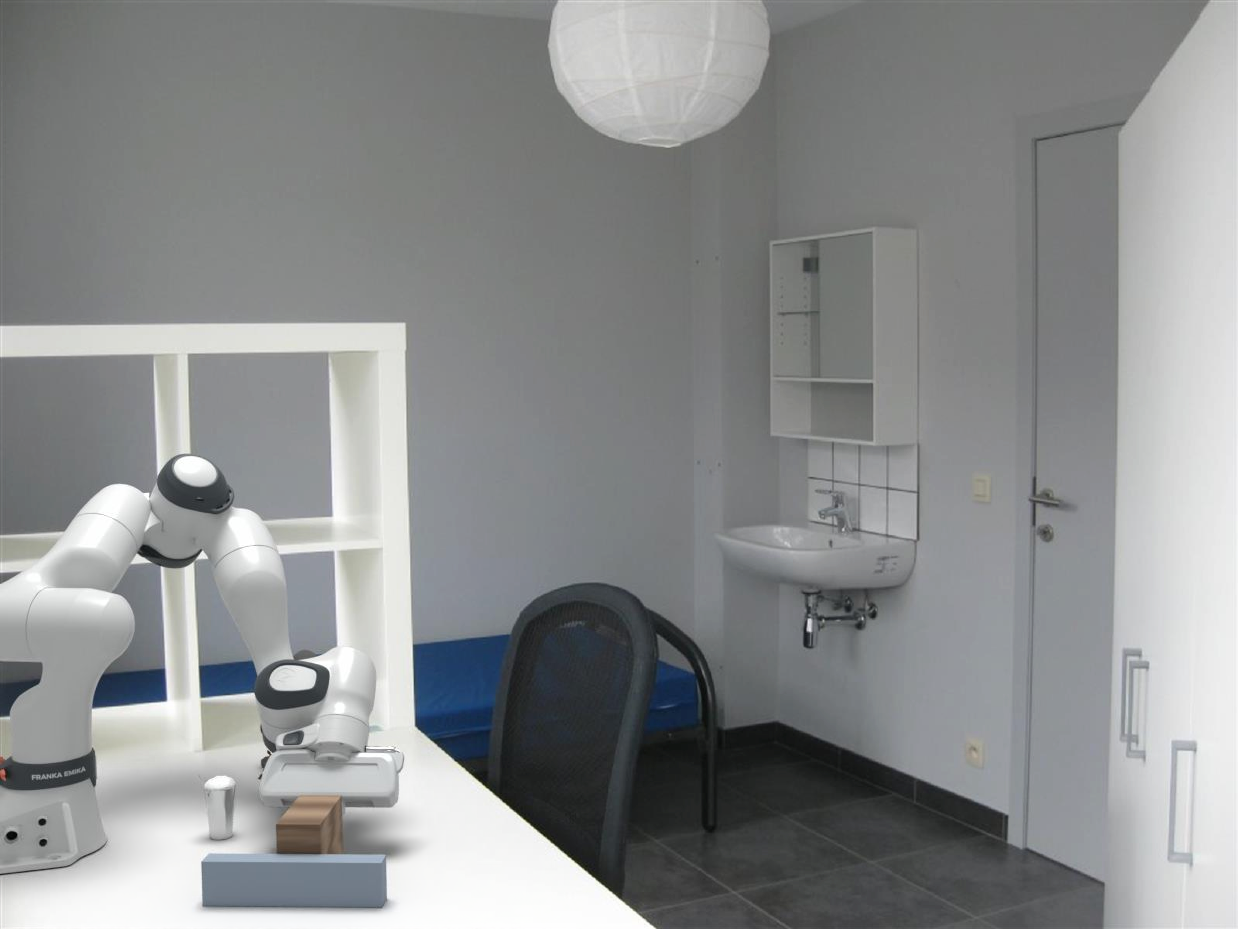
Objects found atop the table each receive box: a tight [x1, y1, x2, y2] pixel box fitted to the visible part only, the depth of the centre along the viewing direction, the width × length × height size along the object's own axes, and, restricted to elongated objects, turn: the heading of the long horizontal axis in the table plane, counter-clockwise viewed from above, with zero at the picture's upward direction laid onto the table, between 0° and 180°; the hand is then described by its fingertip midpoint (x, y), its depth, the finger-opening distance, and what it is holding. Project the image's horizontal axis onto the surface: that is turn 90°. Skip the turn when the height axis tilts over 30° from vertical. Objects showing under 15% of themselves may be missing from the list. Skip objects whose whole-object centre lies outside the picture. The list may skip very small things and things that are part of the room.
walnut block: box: [275, 795, 344, 854], centre depth 187 cm, size 12×6×10 cm, turn 178°
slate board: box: [200, 852, 388, 908], centre depth 179 cm, size 24×3×6 cm, turn 88°
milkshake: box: [198, 773, 236, 841], centre depth 204 cm, size 4×5×10 cm
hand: (322, 832), depth 193 cm, fingers closed, pressing on walnut block
